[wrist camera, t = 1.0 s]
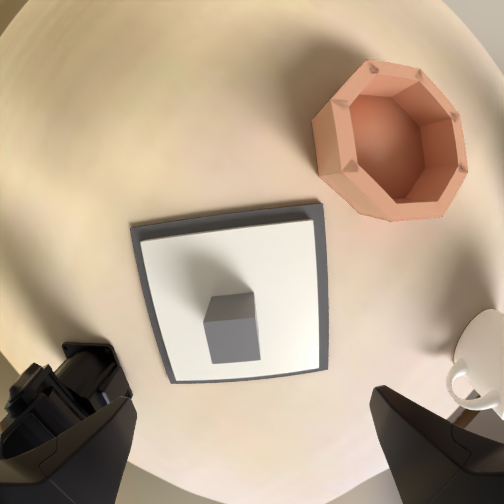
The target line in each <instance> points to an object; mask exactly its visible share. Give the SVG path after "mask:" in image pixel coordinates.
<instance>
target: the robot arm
mask: <svg viewBox="0 0 504 504" xmlns="http://www.w3.org/2000/svg"><path fill="white" fill-rule="evenodd" d="M62 348H63V351H64V353H65V355H66V358H67V359H66V360H65V361H64V362H63V363H62V364H61V365H60V366H59V367H58V369H57V370H56V371H55V372H53V371H52V368H51V367H50V365H49V364H47V365H45V366H44V367H41V366H39V365H38V364H36V363H33V364H31V365H30V366H29V367H28V368H27V369H26V370H25V371H24V372H23V373H22V374H21V375H20V376H19V377H18V379H17V380H16V381H15V382H14V384H13V385H12V386H11V387H10V389H9V392H10V397H9V399H8V402H7V404H6V406H5V408H4V409H5V410H6V411H7V412H8V414H7V416H6V417H5V418H4V419H3V420H2V421H1V422H0V504H115V500H116V496H117V493H118V489H119V486H120V482H121V479H122V476H123V472H124V469H125V466H126V463H127V459H128V456H129V453H130V449H131V445H132V440H133V435H134V430H135V425H136V420H137V412H136V410H135V407H134V405H133V403H132V400H131V398H132V396H133V394H132V391H131V389H130V387H129V384H128V382H127V380H126V377H125V375H124V373H123V370H122V368H121V366H120V364H119V361H118V359H117V356H116V353H115V351H114V348H113V347H112V346H111V345H110V344H93V343H73V342H64V343H63V344H62ZM108 349H109V350H110V351H109V350H108ZM127 394H128V395H127ZM370 410H371V413H372V417H373V421H374V425H375V428H376V432H377V436H378V439H379V442H380V445H381V447H382V450H383V452H384V455H385V457H386V460H387V462H388V465H389V467H390V470H391V472H392V475H393V478H394V480H395V483H396V486H397V488H398V491H399V494H400V496H401V499H402V502H403V504H504V443H500V442H497V441H494V440H491V439H488V438H485V437H482V436H480V435H477V434H475V433H472V432H470V431H467V430H465V429H463V428H461V427H459V426H457V425H455V424H453V423H451V422H449V421H448V420H446V419H444V418H442V417H440V416H438V415H436V414H435V413H433V412H431V411H429V410H427V409H426V408H424V407H422V406H420V405H418V404H417V403H415V402H413V401H411V400H410V399H408V398H406V397H404V396H403V395H401V394H399V393H397V392H396V391H394V390H392V389H391V388H389V387H387V386H385V385H382V386H377V387H375V388H374V389H373V392H372V396H371V400H370Z"/></svg>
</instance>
